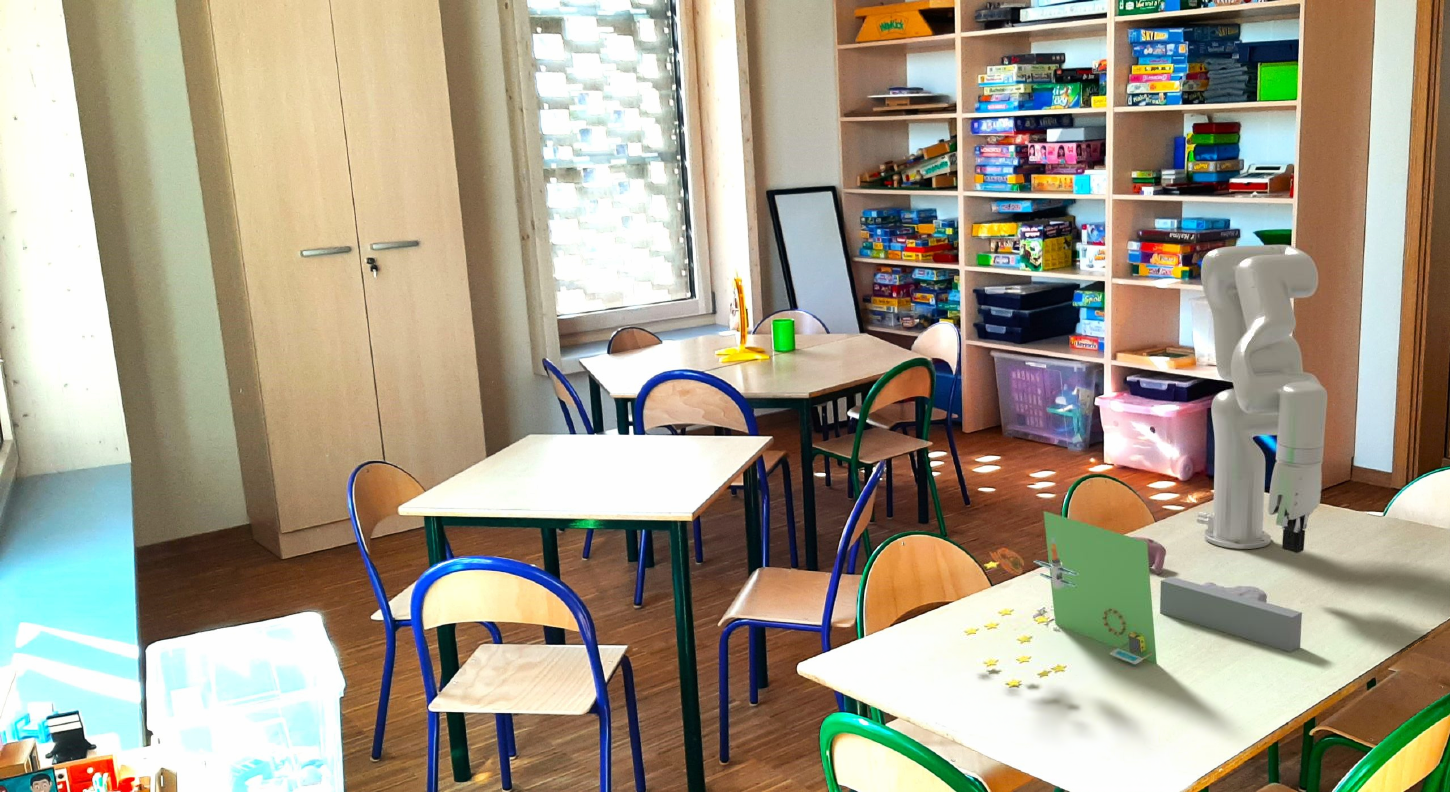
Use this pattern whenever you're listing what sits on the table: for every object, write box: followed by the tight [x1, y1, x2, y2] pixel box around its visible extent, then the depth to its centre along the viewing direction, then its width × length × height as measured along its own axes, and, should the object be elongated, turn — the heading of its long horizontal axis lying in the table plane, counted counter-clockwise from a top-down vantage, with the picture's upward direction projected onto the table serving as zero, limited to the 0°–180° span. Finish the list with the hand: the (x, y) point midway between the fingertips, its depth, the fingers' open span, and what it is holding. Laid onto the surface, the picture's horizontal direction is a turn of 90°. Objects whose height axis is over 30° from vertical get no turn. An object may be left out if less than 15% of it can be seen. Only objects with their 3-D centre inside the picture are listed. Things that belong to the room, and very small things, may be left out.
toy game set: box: [963, 510, 1158, 688], centre depth 202 cm, size 22×25×24 cm
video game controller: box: [1131, 536, 1167, 575], centre depth 245 cm, size 10×5×7 cm, turn 58°
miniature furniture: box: [1032, 605, 1061, 632], centre depth 228 cm, size 7×25×2 cm, turn 137°
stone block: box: [1201, 581, 1268, 603], centre depth 222 cm, size 12×5×10 cm
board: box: [1159, 576, 1303, 653], centre depth 213 cm, size 24×3×6 cm, turn 38°
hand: (1292, 549), depth 226 cm, fingers closed
